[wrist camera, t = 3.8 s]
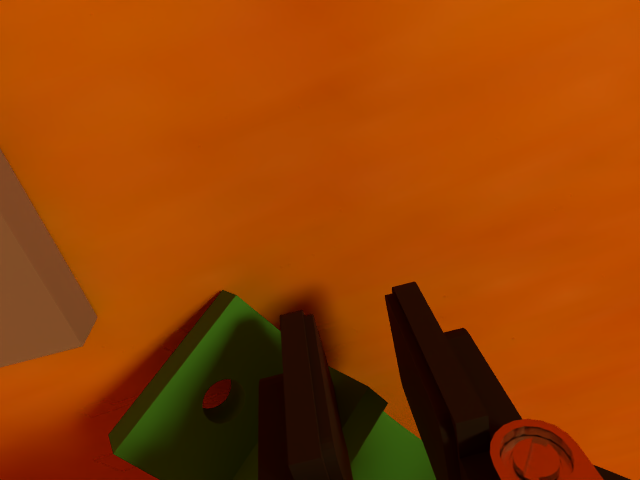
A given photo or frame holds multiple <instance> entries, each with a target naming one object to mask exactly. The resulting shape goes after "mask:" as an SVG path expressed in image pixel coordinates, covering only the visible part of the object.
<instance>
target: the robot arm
mask: <svg viewBox="0 0 640 480" xmlns="http://www.w3.org/2000/svg"><path fill="white" fill-rule="evenodd" d="M385 300H386V306H387V311H388V316H389V321H390V326H391V331H392V337H393V342H394V347H395V352H396V357H397V363H398V368H399V373H400V378H401V382H402V386H403V389H404V392H405V395H406V398H407V400H408V403H409V406H410V409H411V411H412V414H413V417H414V420H415V422H416V425H417V428H418V431H419V433H420V436H421V439H422V442H423V444H424V447H425V450H426V453H427V455H428V458H429V461H430V464H431V466H432V469H433V472H434V475H435V477H436V480H630V479H628V478H625V477H623V476H620V475H618V474H615V473H613V472H610V471H608V470H605V469H603V468H600V467H598V466H595V465H593V464H592V463H591V462H590V460H589V459H588V458H587V456H586V455H585V453H584V452H583V451H582V449H581V448H580V447H579V445H578V444H577V443H576V442H575V441H574V440H573V439H572V438H571V437H570V436H569V434H568V433H566V432H565V431H563V430H561V429H560V428H558V427H557V426H555V425H552V424H549V423H547V422H544V421H541V420H532V419H522V418H521V416H520V415H519V413H518V412H517V410H516V408H515V407H514V405H513V404H512V402H511V400H510V399H509V397H508V396H507V394H506V392H505V391H504V389H503V388H502V386H501V384H500V383H499V381H498V379H497V378H496V376H495V375H494V373H493V371H492V370H491V368H490V367H489V365H488V363H487V362H486V360H485V359H484V357H483V355H482V354H481V352H480V351H479V349H478V347H477V346H476V344H475V342H474V341H473V339H472V338H471V336H470V334H469V333H468V332H467V330H466V329H464V328H460V329H456V330H452V331H448V332H444V333H443V331H442V329H441V328H440V326H439V324H438V322H437V320H436V318H435V317H434V315H433V313H432V311H431V309H430V307H429V306H428V304H427V302H426V300H425V298H424V296H423V295H422V293H421V291H420V289H419V287H418V285H417V284H416V282H411V283H407V284H403V285H399V286H395V287H392V294H388V295H385ZM280 330H281V347H282V364H283V373H282V374H278V375H274V376H270V377H266V378H262V379H260V381H259V407H258V480H353V476H352V471H351V465H350V460H349V455H348V450H347V446H346V442H345V438H344V435H343V431H342V426H341V421H340V415H339V410H338V405H337V399H336V394H335V389H334V385H333V381H332V378H331V375H330V371H329V368H328V364H327V361H326V357H325V354H324V350H323V347H322V343H321V340H320V336H319V333H318V329H317V326H316V323H315V319H314V316H313V314H309V315H304V312H303V310H300V311H296V312H292V313H288V314H284V315H280Z"/></svg>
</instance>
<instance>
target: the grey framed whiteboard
mask: <svg viewBox="0 0 640 480" xmlns="http://www.w3.org/2000/svg"><path fill="white" fill-rule="evenodd" d="M96 319H97V316H96V314H95V312H94V311H93V309H92V307H91V305H90V304H89V302H88V300H87V298H86V297H85V295H84V293H83V291H82V290H81V288H80V286H79V285H78V283H77V281H76V279H75V278H74V276H73V274H72V272H71V271H70V269H69V267H68V265H67V264H66V262H65V260H64V259H63V257H62V255H61V253H60V252H59V250H58V248H57V246H56V245H55V243H54V241H53V239H52V238H51V236H50V234H49V233H48V231H47V229H46V227H45V226H44V224H43V222H42V220H41V219H40V217H39V215H38V213H37V212H36V210H35V208H34V207H33V205H32V203H31V201H30V200H29V198H28V196H27V194H26V193H25V191H24V189H23V187H22V186H21V184H20V182H19V181H18V179H17V177H16V175H15V174H14V172H13V170H12V168H11V167H10V165H9V163H8V161H7V160H6V158H5V156H4V155H3V153H2V151H1V149H0V367H4V366H8V365H11V364H15V363H19V362H23V361H27V360H31V359H35V358H39V357H42V356H46V355H50V354H54V353H58V352H62V351H66V350H70V349H73V348H77V347H81V346H83V345H84V343H85V341H86V339H87V337H88V335H89V333H90V331H91V329H92V327H93V325H94V323H95V321H96Z"/></svg>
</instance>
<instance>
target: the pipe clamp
mask: <svg viewBox="0 0 640 480" xmlns="http://www.w3.org/2000/svg"><path fill="white" fill-rule="evenodd" d="M328 368H329V371H330V375H331V378H332V381H333V385H334V389H335V394H336V399H337V405H338V410H339V415H340V421H341V426H342V431H343V435H344V438H345V442H346V446H347V450H348V455H349V460H350V465H351V471H352V476H353V480H436V477H435V475H434V472H433V469H432V466H431V464H430V461H429V458H428V455H427V453H426V450H425V447H424V444H423V442H422V440H421V439H419V438H418V437H416V436H415V435H414V434H412V433H411V432H409V431H408V430H407V429H405V428H404V427H403V426H401V425H400V424H399V423H397V422H396V421H395V420H394V419H392V418H391V417H390V416H389V415H387V414H386V413H385V412H384V409H385V407H386V406H387V404H388V403H387V402H386V401H385V400H384V399H383V398H381V397H380V396H379V395H378V394H377V393H375V392H374V391H373V390H372V389H371V388H369V387H368V386H366V385H364V384H362V383H360V382H358V381H356V380H355V379H353V378H351V377H349V376H347V375H345V374H343V373H341V372H339V371H337V370H335V369H333V368H331V367H329V366H328ZM282 373H283V364H282V347H281V331H280V330H278V329H277V328H276V327H275V326H274V325H272V324H271V323H270V322H269V321H267V320H266V319H265V318H264V317H262V316H261V315H260V314H259V313H258V312H256V311H255V310H254V309H253V308H251V307H250V306H249V305H248V304H246V303H245V302H244V301H243V300H242V299H240V298H239V297H238V296H237V295H234V294H232V293H229V292H227V291H224V290H222V292H221V293H220V294H219V295H218V297H217V298H216V299H215V300H214V302H213V303H212V304H211V305H210V307H209V308H208V309H207V311H206V312H205V313H204V314H203V316H202V317H201V318H200V319H199V321H198V322H197V323H196V324H195V326H194V327H193V328H192V330H191V331H190V332H189V333H188V335H187V336H186V337H185V338H184V340H183V341H182V342H181V343H180V345H179V346H178V347H177V349H176V350H175V351H174V352H173V354H172V355H171V356H170V357H169V359H168V360H167V361H166V362H165V364H164V365H163V366H162V368H161V369H160V370H159V371H158V373H157V374H156V375H155V376H154V378H153V379H152V380H151V382H150V383H149V384H148V385H147V387H146V388H145V389H144V390H143V392H142V393H141V394H140V395H139V397H138V398H137V399H136V401H135V402H134V403H133V404H132V406H131V407H130V408H129V409H128V411H127V412H126V413H125V414H124V416H123V417H122V418H121V420H120V421H119V422H118V423H117V425H116V426H115V427H114V428H113V430H112V431H111V432H110V433H109V439H110V443H111V447H112V451H113V454H114V455H116V456H118V457H120V458H121V459H123V460H125V461H127V462H129V463H130V464H132V465H134V466H136V467H138V468H139V469H141V470H143V471H145V472H147V473H148V474H150V475H152V476H154V477H156V478H157V479H159V480H258V407H259V381H260V379H262V378H266V377H270V376H274V375H278V374H282ZM224 379H231V391H230V393H229V395H228V397H227V399H226V400H225V401H224V402H223V403H222V404H220V405H219V406H217V407H214V408H209V409H207V408H203V407H202V403H203V398H204V395H205V393H206V392H207V390H208V389H209V388H210V387H211V386H212V385H213V384H214V383H216V382H218V381H220V380H224Z"/></svg>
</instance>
